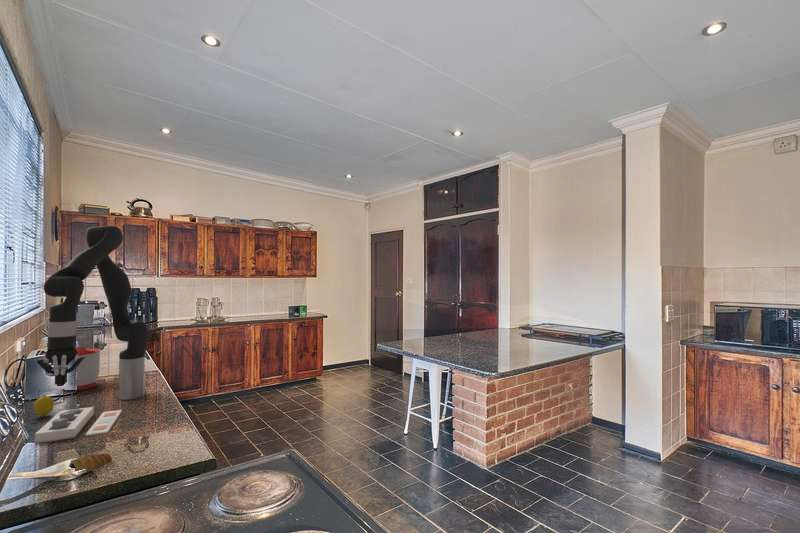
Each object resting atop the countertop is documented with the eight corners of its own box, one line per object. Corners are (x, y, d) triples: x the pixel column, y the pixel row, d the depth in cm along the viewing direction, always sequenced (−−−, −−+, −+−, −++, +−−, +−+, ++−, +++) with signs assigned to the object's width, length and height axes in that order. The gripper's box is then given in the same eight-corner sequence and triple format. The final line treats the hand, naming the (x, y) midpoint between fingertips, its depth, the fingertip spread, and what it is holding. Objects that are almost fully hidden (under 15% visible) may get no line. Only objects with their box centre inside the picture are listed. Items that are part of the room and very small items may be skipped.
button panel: (93, 414, 151) (93, 406, 151) (74, 437, 130) (74, 428, 130) (60, 418, 146) (60, 410, 147) (34, 443, 126) (34, 433, 126)
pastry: (105, 458, 116) (105, 445, 116) (116, 464, 113) (116, 451, 113) (65, 472, 108) (65, 458, 108) (76, 479, 105) (76, 464, 105)
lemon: (41, 419, 145) (42, 398, 145) (29, 418, 146) (30, 397, 147) (57, 414, 151) (57, 393, 151) (45, 413, 152) (46, 392, 152)
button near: (69, 426, 135) (69, 417, 135) (65, 430, 131) (65, 421, 131) (54, 428, 133) (54, 419, 133) (49, 432, 129) (50, 423, 129)
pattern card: (122, 411, 155) (122, 409, 155) (107, 433, 134) (107, 430, 134) (103, 413, 152) (103, 411, 152) (85, 436, 131) (85, 434, 131)
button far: (82, 416, 147) (82, 408, 147) (78, 420, 144) (78, 411, 144) (68, 418, 145) (68, 409, 146) (64, 421, 142) (64, 413, 142)
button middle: (76, 419, 141) (76, 410, 141) (72, 423, 137) (72, 414, 137) (61, 421, 139) (61, 412, 139) (57, 425, 136) (57, 416, 136)
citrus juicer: (47, 395, 174) (47, 350, 174) (68, 384, 191) (69, 343, 191) (88, 392, 178) (89, 348, 178) (106, 382, 195) (106, 341, 195)
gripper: (89, 332, 141) (87, 381, 141) (42, 334, 136) (40, 384, 135) (82, 335, 134) (80, 386, 134) (32, 337, 129) (30, 390, 128)
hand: (60, 385), depth 134 cm, fingers closed
